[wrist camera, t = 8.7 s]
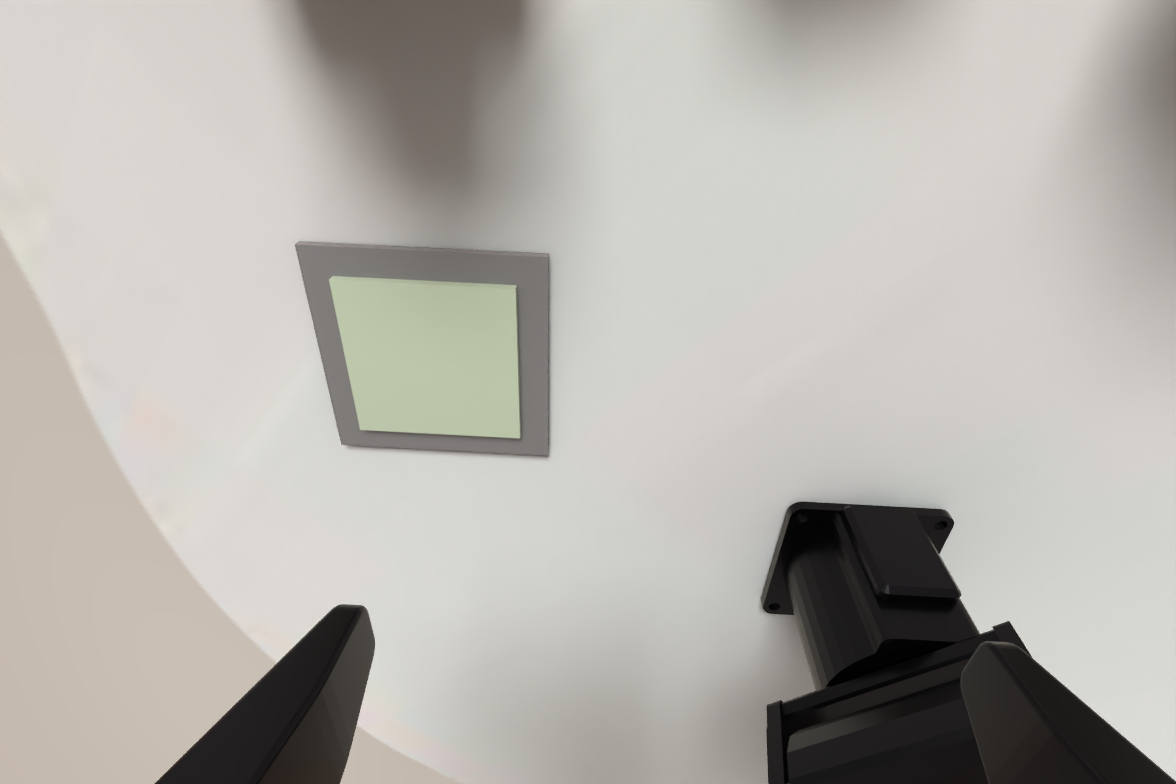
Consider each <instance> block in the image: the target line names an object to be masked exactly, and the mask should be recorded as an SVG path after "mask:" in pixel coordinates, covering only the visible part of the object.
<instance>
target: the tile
mask: <svg viewBox="0 0 1176 784" xmlns="http://www.w3.org/2000/svg"><path fill="white" fill-rule="evenodd" d="M295 247H296V251H297V256H298V260H299V264H300V268H301V273H302V277H303V281H304V286H305V290H306V294H307V299H308V303H309V307H310V311H311V316H312V320H313V324H314V329H315V333H316V337H317V342H318V346H319V350H320V354H321V359H322V363H323V367H324V372H325V376H326V380H327V384H328V389H329V393H330V397H331V402H332V406H333V410H334V415H335V419H336V423H337V427H338V432H339V436H340V440H341V445H357V446H376V447H394V448H413V449H432V450H450V451H469V452H488V453H506V454H525V455H544V456H548V321H549V254H543V253H523V252H503V251H483V250H463V249H442V248H422V247H402V246H382V245H362V244H341V243H321V242H301V241H299V242H298V243H296V244H295Z"/></svg>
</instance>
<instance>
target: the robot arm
mask: <svg viewBox="0 0 1176 784" xmlns="http://www.w3.org/2000/svg"><path fill="white" fill-rule="evenodd" d="M802 513H805V514H803V515H799V514H802ZM798 515H799V516H798ZM939 521H940V522H939ZM953 525H954V521H953V519H952V517H951V516H950V514H949V513H948V512H947V511H946V510H942V509H927V508H909V507H890V506H872V505H853V504H835V503H816V502H797V503H794V504H792V505H791V506H790V507H789V509H788V510H787V514H786V517H785V521H784V524H783V527H782V531H781V534H780V538H779V541H778V544H777V548H776V551H775V554H774V558H773V561H772V565H771V568H770V571H769V575H768V578H767V581H766V585H765V588H764V592H763V595H762V598H761V601H762V606H763V609H764V611H766V612H767V613H771V614H787V615H795V619H796V622H797V626H798V629H799V633H800V636H801V640H802V643H803V647H804V650H805V654H806V657H807V660H808V664H809V667H810V671H811V674H812V678H813V681H814V685H815V688H816V691H814V692H812V693H809V694H806V695H803V696H800V697H797V698H794V699H791V700H788V701H785V702H782V701H781V700H780V701H777V702H774V703H771V704H768V705H767V756H768V784H1176V781H1175V780H1173V779H1172V778H1171V777H1170V776H1169V775H1168V774H1166V773H1165V772H1164V771H1163V770H1162V769H1161V768H1160V767H1158V766H1157V765H1156V764H1155V763H1154V762H1153V761H1151V760H1150V759H1149V758H1148V757H1147V756H1146V755H1144V754H1143V753H1142V752H1141V751H1140V750H1139V749H1137V748H1136V747H1135V746H1134V745H1133V744H1132V743H1130V742H1129V741H1128V740H1127V739H1126V738H1125V737H1123V736H1122V735H1121V734H1120V733H1119V732H1118V731H1116V730H1115V729H1114V728H1113V727H1112V726H1111V725H1109V724H1108V723H1107V722H1106V721H1105V720H1104V719H1102V718H1101V717H1100V716H1099V715H1098V714H1097V713H1096V712H1094V711H1093V710H1092V709H1091V708H1090V707H1089V706H1087V705H1086V704H1085V703H1084V702H1083V701H1082V700H1080V699H1079V698H1078V697H1077V696H1076V695H1075V694H1073V693H1072V692H1071V691H1070V690H1069V689H1068V688H1066V687H1065V686H1064V685H1063V684H1062V683H1061V682H1059V681H1058V680H1057V679H1056V678H1055V677H1054V676H1052V675H1051V674H1050V673H1049V672H1048V671H1047V670H1045V669H1044V668H1043V667H1042V666H1041V665H1040V664H1039V663H1037V662H1036V661H1035V660H1034V659H1033V658H1032V657H1031V655H1030V653H1029V652H1028V650H1027V649H1026V647H1025V645H1024V644H1023V642H1022V641H1021V639H1020V637H1019V636H1018V634H1017V633H1016V631H1015V630H1014V628H1013V626H1012V625H1011V623H1010V622H1009V621H1007V622H1005V623H1002V624H999V625H996V626H993V629H994V630H991V631H988V632H985V633H982V634H980V633H979V631H978V629H977V628H976V626H975V624H974V622H973V621H972V619H971V617H970V615H969V614H968V612H967V610H966V608H965V607H964V605H963V603H962V601H961V600H960V596H961V592H960V590H959V588H958V586H957V585H956V583H955V581H954V579H953V578H952V576H951V574H950V572H949V571H948V569H947V567H946V566H945V564H944V562H943V560H942V559H941V557H940V555H939V553H940V551H941V549H942V547H943V545H944V544H945V542H946V540H947V538H948V536H949V534H950V532H951V530H952V528H953ZM374 650H375V638H374V634H373V630H372V626H371V622H370V618H369V614H368V611H367V609H366V608H365V607H364V606H362V605H345V604H342V605H338V606H336V607H334V608H333V609H332V610H331V611H330V612H329V613H328V614H327V615H326V616H325V617H324V618H323V619H322V620H321V621H319V622H318V623H317V624H316V625H315V626H314V627H313V628H312V629H311V630H310V631H309V632H308V633H307V634H306V635H305V636H304V637H303V638H302V639H301V640H300V641H299V642H298V643H297V644H296V645H295V646H294V647H293V648H292V649H291V650H290V651H289V652H288V653H287V654H286V655H285V656H284V657H283V658H282V659H281V660H280V661H279V662H278V663H277V664H276V665H275V666H274V667H273V668H272V669H271V670H270V671H269V672H268V673H267V674H266V675H265V676H264V677H263V678H262V679H261V680H260V681H259V682H257V683H256V684H255V686H254V687H252V688H251V689H250V690H249V691H248V692H247V693H246V694H245V695H244V696H243V697H242V698H241V699H240V700H239V701H238V702H237V703H236V704H235V705H234V706H233V707H232V708H231V709H230V710H229V711H228V712H227V713H226V714H225V715H224V716H223V717H222V718H221V719H220V720H219V721H218V722H217V723H216V724H215V725H214V726H213V727H212V728H211V729H210V730H209V731H208V732H207V733H206V734H205V735H204V736H203V737H202V738H201V739H200V740H199V741H198V742H197V743H195V744H194V745H193V746H192V747H191V748H190V749H189V750H188V751H187V753H185V754H184V755H183V756H182V757H181V758H180V759H179V760H178V761H177V762H176V763H175V764H174V765H173V766H172V767H171V768H170V769H169V770H168V771H167V772H166V773H165V774H164V775H163V776H162V777H161V778H160V779H159V780H158V781H157V782H156V783H155V784H340V781H341V778H342V775H343V772H344V769H345V766H346V763H347V760H348V756H349V752H350V749H351V745H352V741H353V737H354V732H355V729H356V725H357V721H358V717H359V713H360V709H361V705H362V701H363V697H364V692H365V688H366V684H367V680H368V676H369V672H370V668H371V664H372V660H373V656H374Z"/></svg>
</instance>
